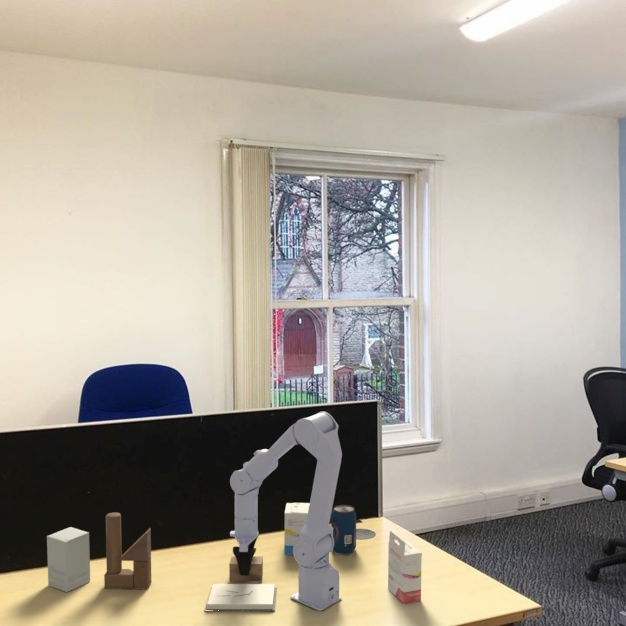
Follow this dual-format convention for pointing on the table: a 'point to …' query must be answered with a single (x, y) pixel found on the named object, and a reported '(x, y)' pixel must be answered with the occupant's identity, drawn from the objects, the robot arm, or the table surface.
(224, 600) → the marked board
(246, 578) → the block
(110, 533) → the wooden block
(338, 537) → the soda can
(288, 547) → the ink box
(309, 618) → the table surface
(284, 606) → the table surface
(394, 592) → the ink cartridge box
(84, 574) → the supplement box
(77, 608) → the table surface
